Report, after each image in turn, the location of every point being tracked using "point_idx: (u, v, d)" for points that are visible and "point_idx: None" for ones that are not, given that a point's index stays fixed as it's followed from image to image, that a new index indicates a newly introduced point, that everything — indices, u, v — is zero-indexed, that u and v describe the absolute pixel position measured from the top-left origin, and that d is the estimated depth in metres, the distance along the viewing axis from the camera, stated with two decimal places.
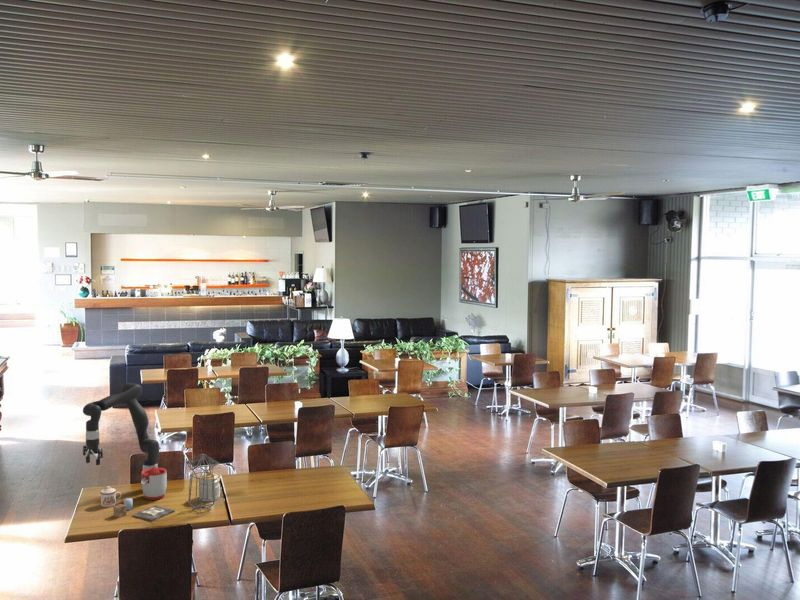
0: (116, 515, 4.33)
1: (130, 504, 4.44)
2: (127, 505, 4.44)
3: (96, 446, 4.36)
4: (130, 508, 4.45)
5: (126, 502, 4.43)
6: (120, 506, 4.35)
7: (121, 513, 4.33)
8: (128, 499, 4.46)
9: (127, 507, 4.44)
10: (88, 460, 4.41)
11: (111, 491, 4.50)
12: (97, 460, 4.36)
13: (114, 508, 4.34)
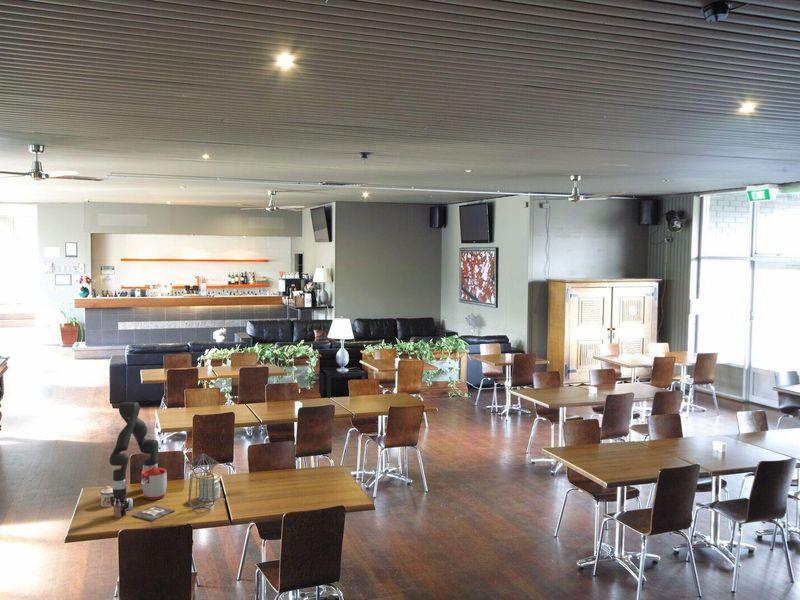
0: (116, 515, 4.33)
1: (130, 504, 4.44)
2: None
3: (123, 496, 4.33)
4: (130, 508, 4.45)
5: None
6: (120, 506, 4.35)
7: None
8: None
9: None
10: None
11: (111, 491, 4.50)
12: (122, 511, 4.33)
13: (114, 508, 4.34)
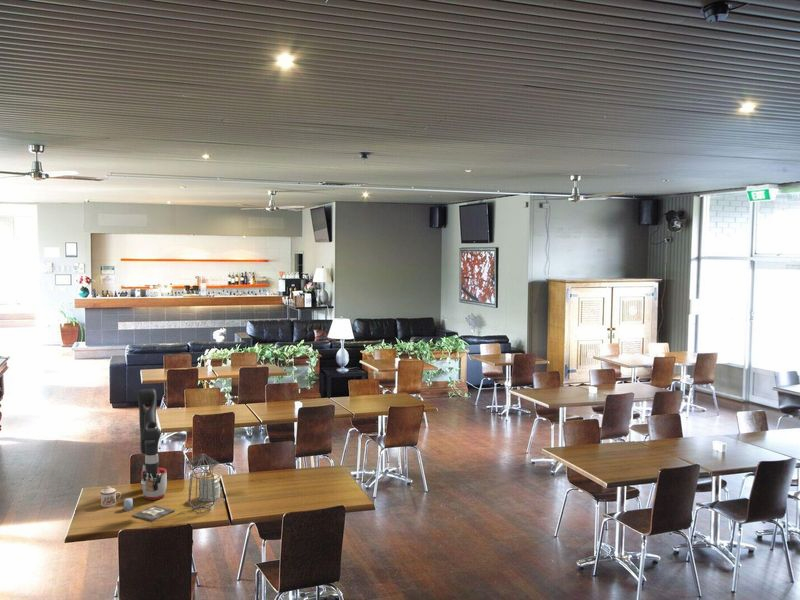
0: (148, 489, 4.36)
1: (130, 504, 4.44)
2: (127, 505, 4.44)
3: (155, 470, 4.35)
4: (130, 508, 4.45)
5: (126, 502, 4.43)
6: None
7: (153, 487, 4.35)
8: (128, 499, 4.46)
9: (127, 507, 4.44)
10: None
11: (111, 491, 4.50)
12: (155, 485, 4.35)
13: (146, 482, 4.36)
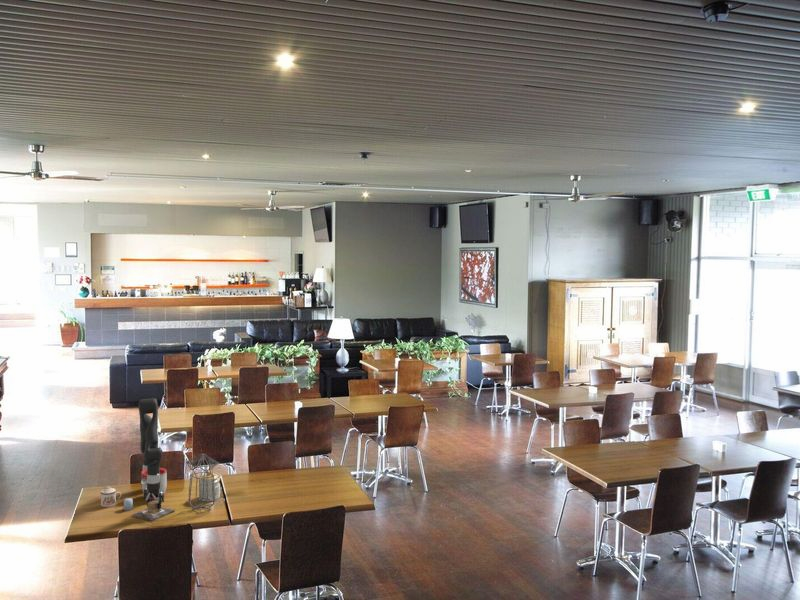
0: (150, 511, 4.37)
1: (130, 504, 4.44)
2: (127, 505, 4.44)
3: (157, 490, 4.36)
4: (130, 508, 4.45)
5: (126, 502, 4.43)
6: (154, 502, 4.38)
7: (155, 509, 4.37)
8: (128, 499, 4.46)
9: (127, 507, 4.44)
10: None
11: (111, 491, 4.50)
12: (158, 504, 4.36)
13: (148, 504, 4.37)
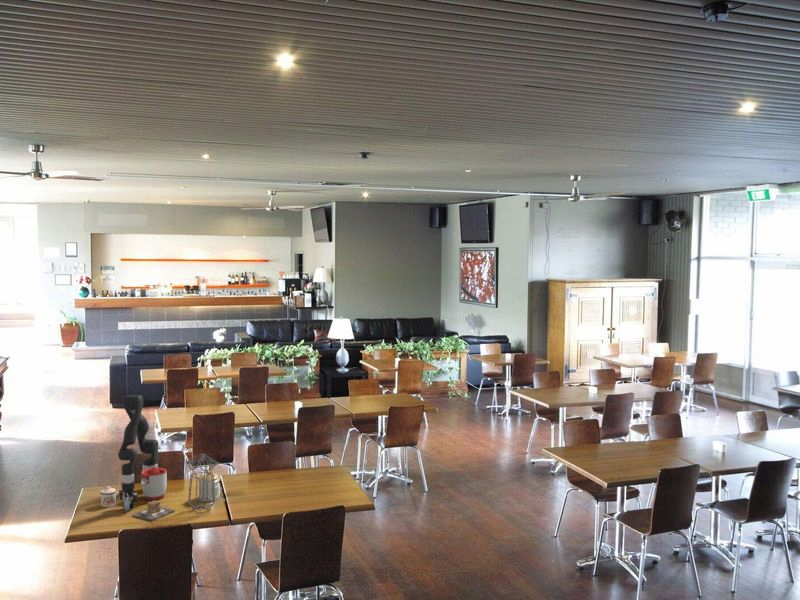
0: (150, 511, 4.37)
1: None
2: (127, 505, 4.44)
3: (132, 489, 4.43)
4: None
5: (126, 502, 4.43)
6: (154, 502, 4.38)
7: (155, 509, 4.37)
8: None
9: (127, 507, 4.44)
10: None
11: (111, 491, 4.50)
12: (131, 504, 4.44)
13: (148, 504, 4.37)
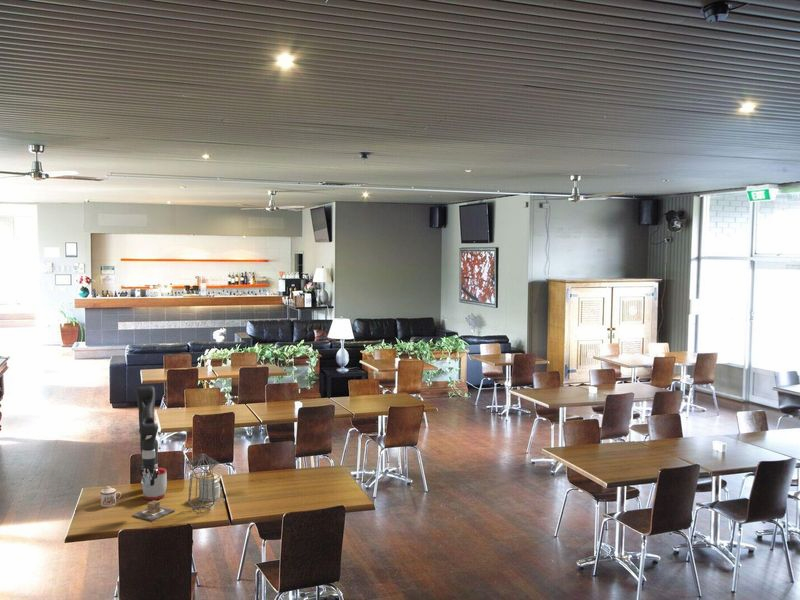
0: (150, 511, 4.37)
1: None
2: (148, 481, 4.36)
3: (152, 465, 4.35)
4: None
5: (147, 478, 4.35)
6: (154, 502, 4.38)
7: (155, 509, 4.37)
8: None
9: (148, 483, 4.36)
10: None
11: (111, 491, 4.50)
12: (152, 480, 4.36)
13: (148, 504, 4.37)
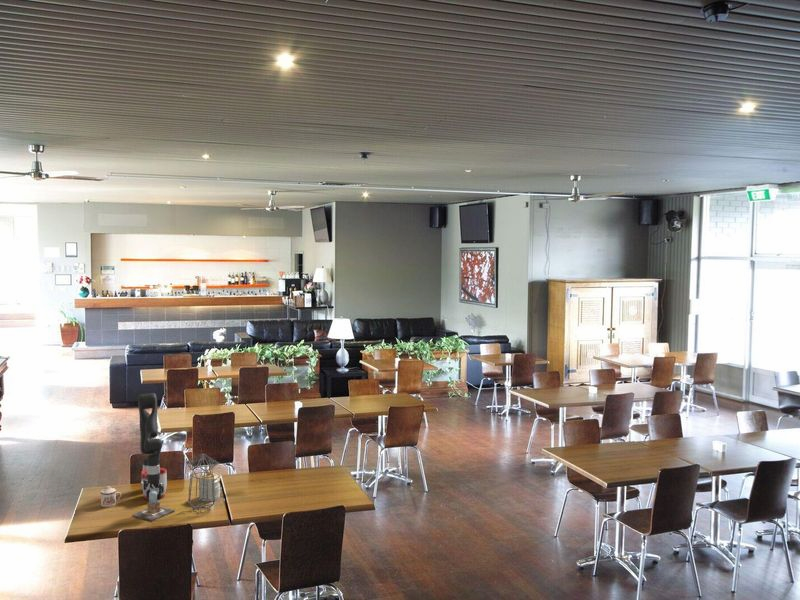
0: (150, 511, 4.37)
1: (155, 497, 4.37)
2: (152, 498, 4.36)
3: (157, 481, 4.36)
4: (155, 501, 4.37)
5: (151, 495, 4.36)
6: None
7: (155, 509, 4.37)
8: (153, 492, 4.39)
9: (152, 500, 4.36)
10: (148, 494, 4.40)
11: (111, 491, 4.50)
12: (158, 495, 4.35)
13: (148, 504, 4.37)
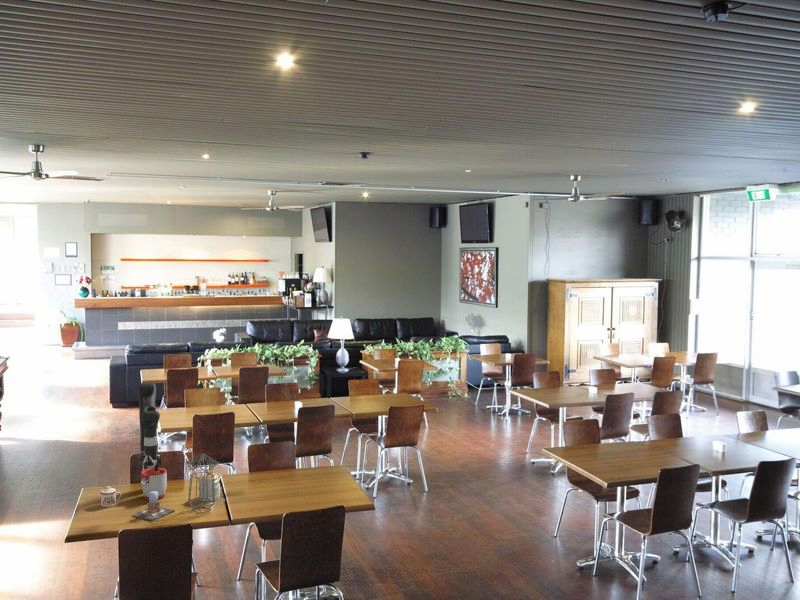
0: (150, 511, 4.37)
1: (155, 497, 4.37)
2: (152, 498, 4.36)
3: (154, 452, 4.36)
4: (155, 501, 4.37)
5: (151, 495, 4.36)
6: None
7: (155, 509, 4.37)
8: (153, 492, 4.39)
9: (152, 500, 4.36)
10: (146, 466, 4.41)
11: (111, 491, 4.50)
12: (155, 466, 4.36)
13: (148, 504, 4.37)
